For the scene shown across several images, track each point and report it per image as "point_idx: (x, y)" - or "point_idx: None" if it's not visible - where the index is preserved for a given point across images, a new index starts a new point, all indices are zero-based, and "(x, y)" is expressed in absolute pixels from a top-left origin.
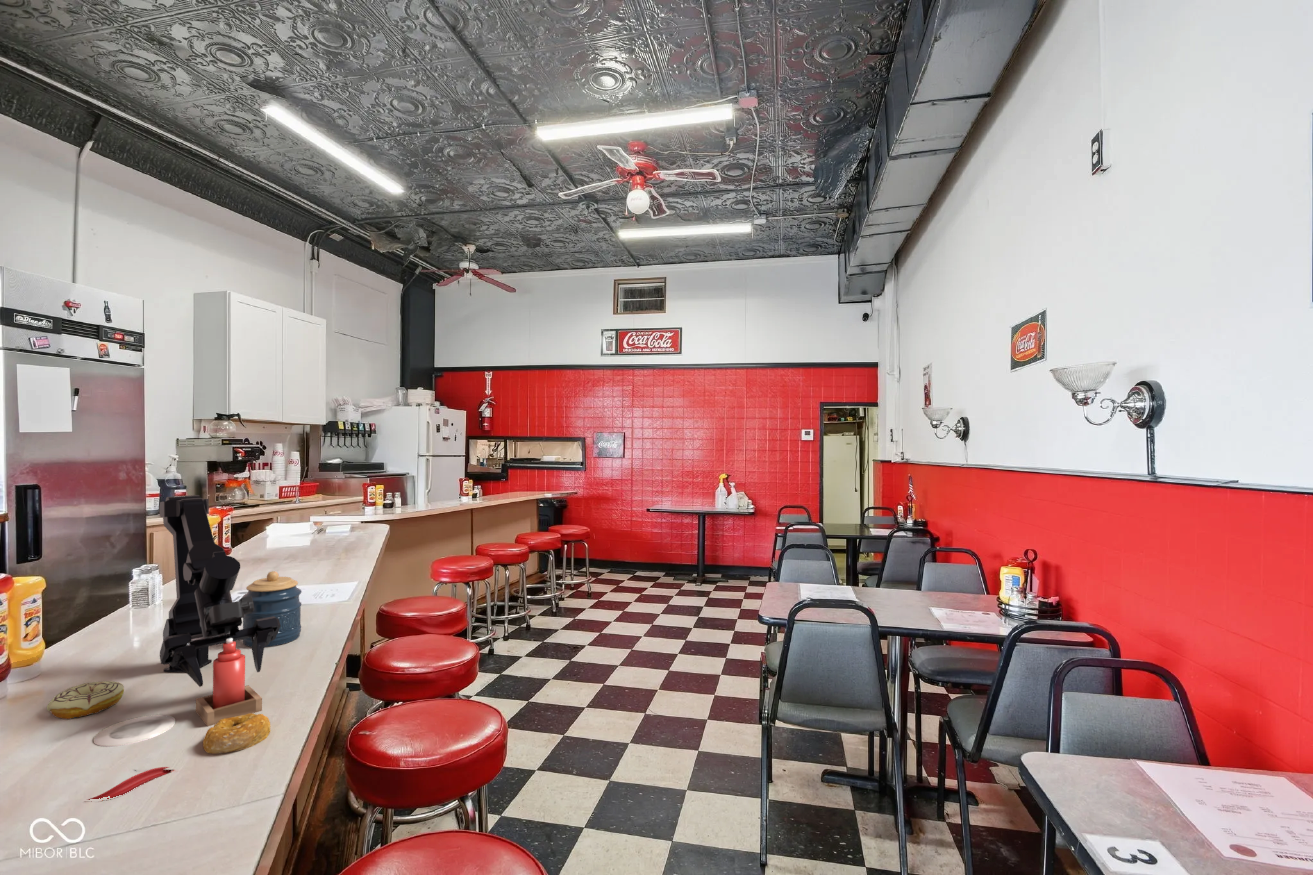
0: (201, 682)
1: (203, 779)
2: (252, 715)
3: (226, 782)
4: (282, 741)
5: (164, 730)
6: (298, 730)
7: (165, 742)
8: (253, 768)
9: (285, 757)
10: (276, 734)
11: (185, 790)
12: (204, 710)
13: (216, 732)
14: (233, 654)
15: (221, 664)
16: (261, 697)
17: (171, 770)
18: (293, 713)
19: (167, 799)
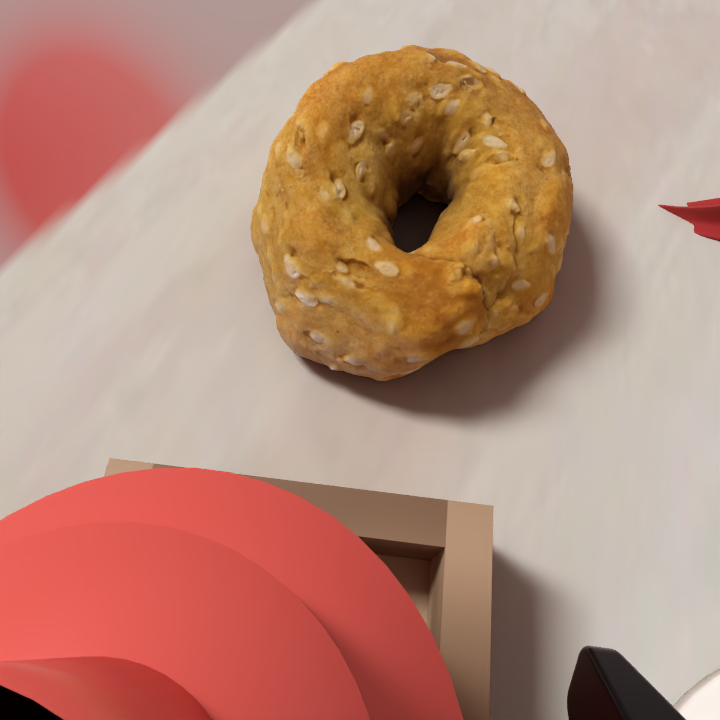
0: (609, 652)
1: (595, 77)
2: (322, 196)
3: (539, 16)
4: (277, 116)
5: (714, 690)
6: (177, 151)
7: (694, 550)
8: (445, 28)
9: (337, 17)
10: (256, 187)
11: (655, 58)
12: (489, 611)
13: (543, 132)
14: (111, 535)
15: (386, 574)
16: (106, 470)
17: (685, 214)
18: (55, 337)
19: (708, 50)
